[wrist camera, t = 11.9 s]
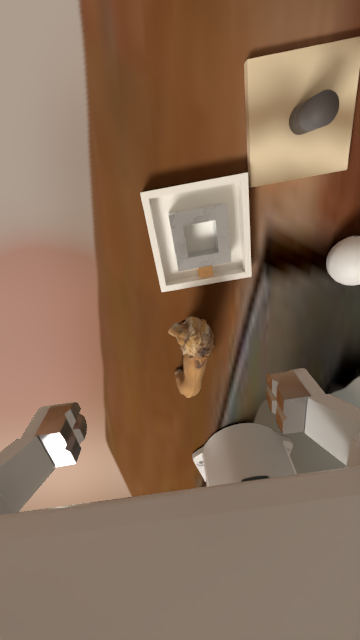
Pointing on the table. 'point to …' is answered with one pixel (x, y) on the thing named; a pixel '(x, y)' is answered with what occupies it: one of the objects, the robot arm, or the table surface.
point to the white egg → (345, 261)
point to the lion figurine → (193, 353)
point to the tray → (199, 229)
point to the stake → (300, 111)
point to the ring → (208, 256)
